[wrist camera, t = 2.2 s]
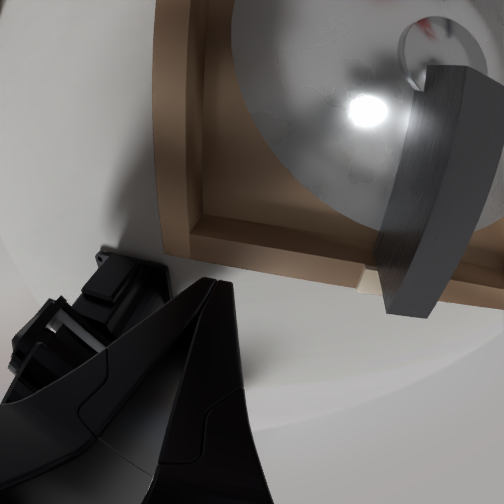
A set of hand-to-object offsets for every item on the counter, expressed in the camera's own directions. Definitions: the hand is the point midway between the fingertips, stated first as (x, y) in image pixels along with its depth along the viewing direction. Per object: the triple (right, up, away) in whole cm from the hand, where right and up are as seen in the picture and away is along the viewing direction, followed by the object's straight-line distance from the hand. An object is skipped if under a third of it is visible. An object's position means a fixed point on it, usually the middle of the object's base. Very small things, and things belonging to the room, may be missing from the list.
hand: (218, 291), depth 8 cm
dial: (+8, +9, +1) cm, 12 cm away
